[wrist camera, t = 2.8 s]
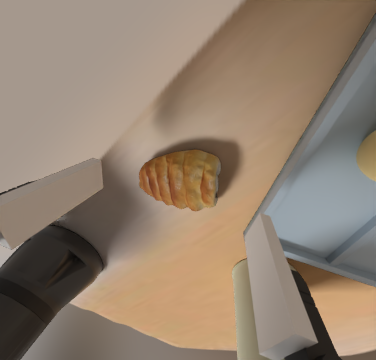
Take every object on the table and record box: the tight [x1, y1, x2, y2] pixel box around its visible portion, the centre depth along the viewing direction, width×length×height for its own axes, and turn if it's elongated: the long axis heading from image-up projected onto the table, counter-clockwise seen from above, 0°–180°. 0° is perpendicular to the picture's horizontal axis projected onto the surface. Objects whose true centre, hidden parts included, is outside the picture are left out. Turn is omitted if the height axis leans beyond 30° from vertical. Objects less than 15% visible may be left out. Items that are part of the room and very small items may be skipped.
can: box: [232, 259, 296, 360], centre depth 17 cm, size 9×9×12 cm
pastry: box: [139, 149, 221, 211], centre depth 16 cm, size 9×7×4 cm
